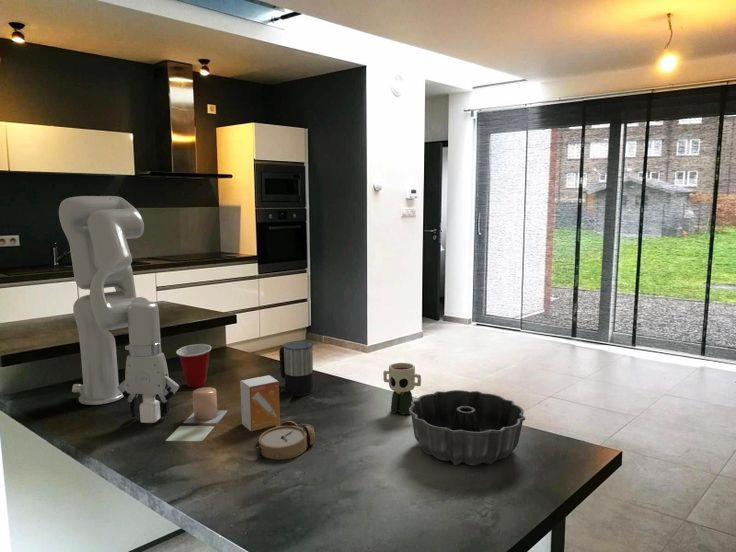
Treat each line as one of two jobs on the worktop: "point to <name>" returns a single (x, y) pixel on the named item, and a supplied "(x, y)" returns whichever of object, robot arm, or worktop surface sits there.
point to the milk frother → (297, 367)
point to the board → (194, 429)
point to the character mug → (401, 385)
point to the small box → (260, 402)
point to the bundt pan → (466, 426)
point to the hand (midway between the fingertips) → (150, 414)
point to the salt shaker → (149, 409)
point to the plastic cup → (195, 363)
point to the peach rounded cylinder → (205, 404)
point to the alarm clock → (286, 440)
